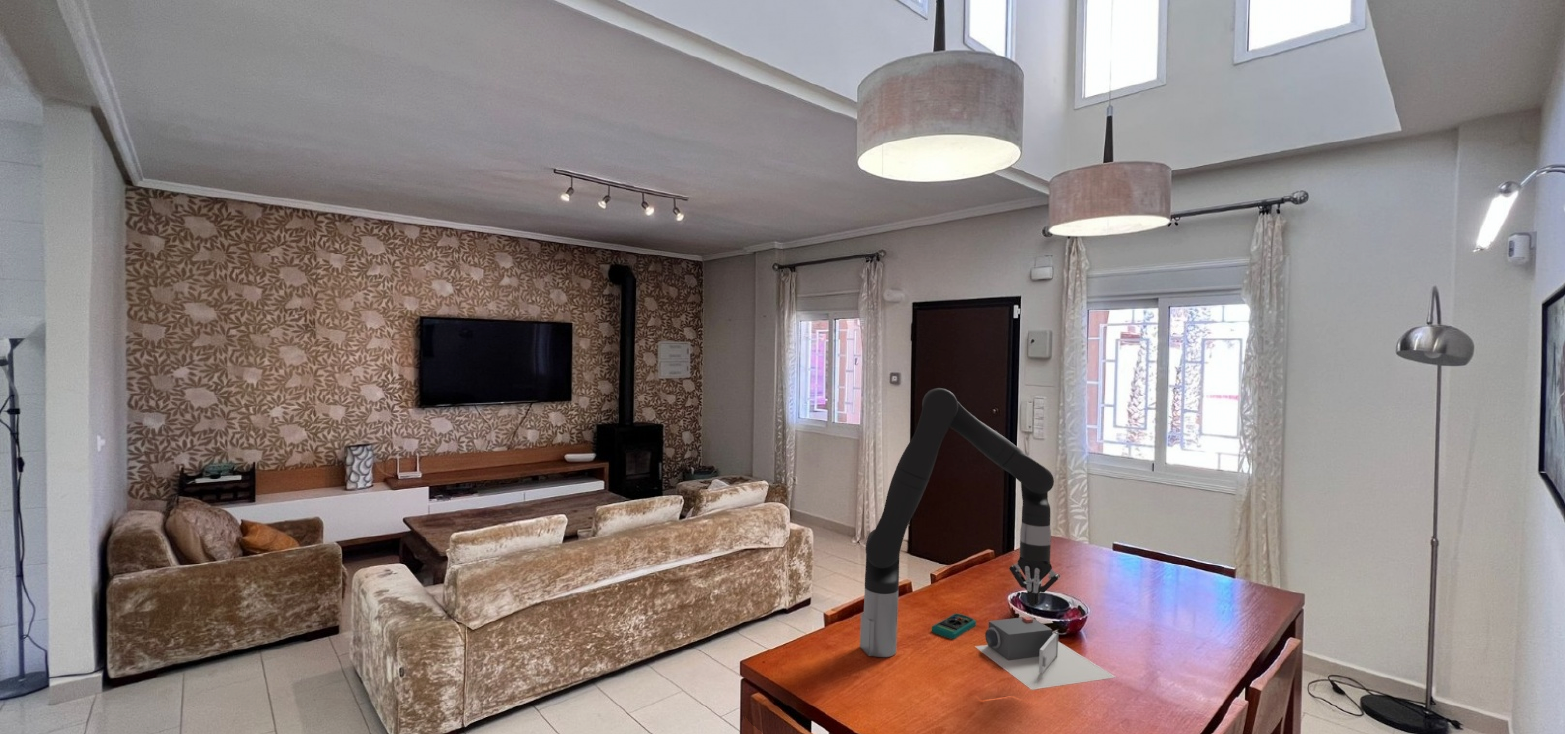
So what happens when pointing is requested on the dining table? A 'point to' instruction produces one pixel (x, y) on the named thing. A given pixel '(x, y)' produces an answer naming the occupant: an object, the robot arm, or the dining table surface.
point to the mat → (1050, 668)
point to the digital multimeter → (954, 626)
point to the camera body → (1017, 637)
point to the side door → (1048, 652)
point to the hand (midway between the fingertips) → (1033, 605)
